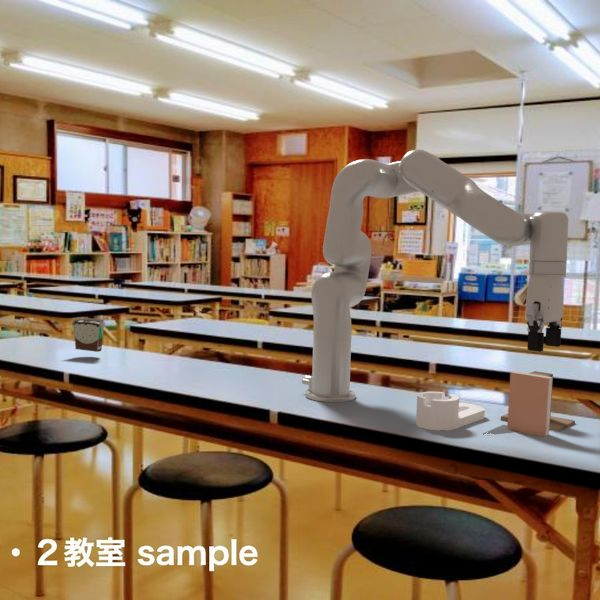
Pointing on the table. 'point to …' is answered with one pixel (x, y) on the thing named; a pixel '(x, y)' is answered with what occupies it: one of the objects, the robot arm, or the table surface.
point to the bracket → (445, 411)
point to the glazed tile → (529, 403)
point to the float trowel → (555, 422)
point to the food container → (88, 334)
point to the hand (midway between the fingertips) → (544, 348)
